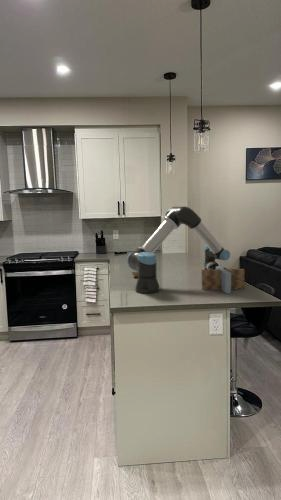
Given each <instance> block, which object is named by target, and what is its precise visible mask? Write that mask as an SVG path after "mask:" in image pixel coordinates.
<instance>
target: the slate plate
mask: <svg viewBox="0 0 281 500" xmlns="http://www.w3.org/2000/svg"><path fill="white" fill-rule="evenodd" d="M224 268H225V267H222V266H219V265H218V266H216V269H219V270H220V280H221V289H222V290H223V291H224V292H225V293H224V292H223V291H222V290H221V289H220V290H221V291H222V292H223V293H224V294H226V293H231V294H232V289H231V273H230V272H228V271H227V270H225V269H224Z"/></svg>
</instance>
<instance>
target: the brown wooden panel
mask: <svg viewBox="0 0 281 500" xmlns="http://www.w3.org/2000/svg"><path fill="white" fill-rule="evenodd" d="M226 270H227V271H228V272H230V273H231V290H236V289H235V288H244V289H245V269H244V268H227V269H226ZM201 290H204V291H205V290H221V280H220V270H219V269H213V270H204V269H201Z"/></svg>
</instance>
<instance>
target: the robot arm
mask: <svg viewBox="0 0 281 500" xmlns="http://www.w3.org/2000/svg"><path fill="white" fill-rule="evenodd" d="M181 225H184V226H187V227H188V229H190V230H193V232H194V233H195V234H196V235H197V236H198V238H199V239H200V240H201V241H202V242H203V243H204V262H203V270H213V269H216V266H219V264H217V263H216V260H220V261H228V260H229V259H230V258H231V252H230V251H229V250H228V249H225V248H224V246H222V245H221V243H220V242H219V241H218V240H217V239H216V238H215V236H214V235H213V234H212V233H211V231H209V229H208V228H207V227H206V226H205V224H204V223H203V222H202V218H201V217H200V216H199V215H198V214H197V213H196V212H195V211H194V210H193V209H192V208H190V207H189V206H172V207H170V208H168V209H167V210H166V212H165V216H164V217H163V222H161V224H160V225H159V226H158V227H157V229H156V230H155V231H154V232H153V233H152V235H150V237H149V238H148V239H147V240H146V241H145V242H144V244H143V245H142V246H138V247H137V248H136V249H135V250H134V251H131V252H130V253H128V255H127V257H126V264H127V265H128V267H129V268H130V270H131V269H133V270H136V271H138V277H137V281H136V284H135V286H134V288H135V290H134V292H137V293H139V294H155V293H159V292H160V289H161V288H160V285H159V281H158V276H157V271H158V270H157V264H158V263H157V255H156V253H155V252H156V250H157V249H158V248H159V247H160V246H161V245H162V243H163V242H164V241H165V240H166V239H167V238H168V237H169V235H170V234H171V233H172V232H173V231H174V230H177V229H178V228H179V227H180V226H181ZM223 268H224V269H225V270H226V269H228V268H227V267H223Z"/></svg>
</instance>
